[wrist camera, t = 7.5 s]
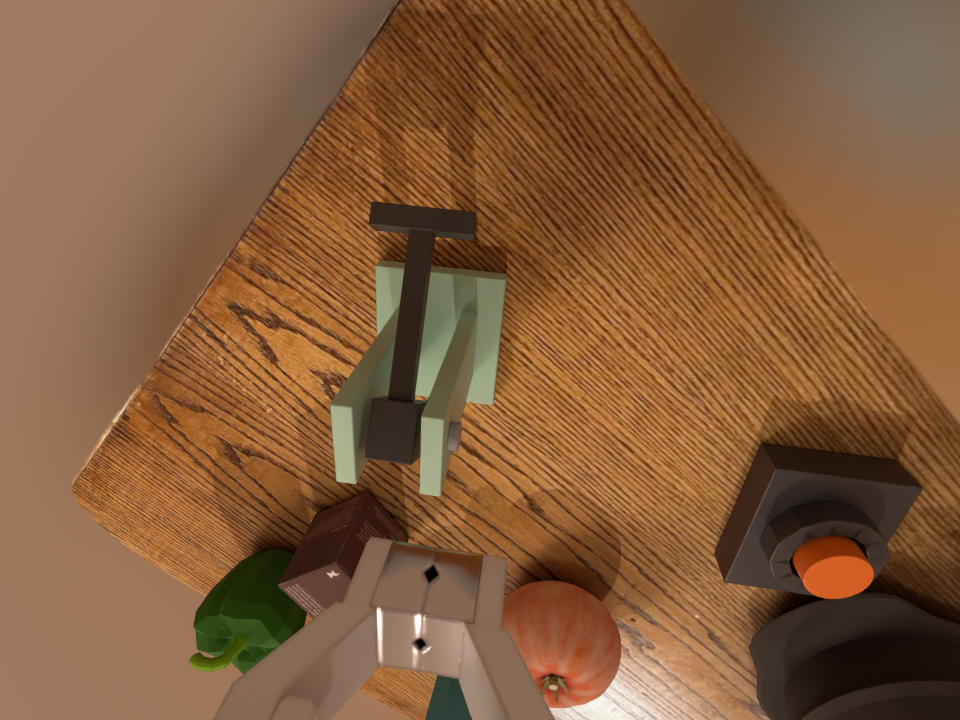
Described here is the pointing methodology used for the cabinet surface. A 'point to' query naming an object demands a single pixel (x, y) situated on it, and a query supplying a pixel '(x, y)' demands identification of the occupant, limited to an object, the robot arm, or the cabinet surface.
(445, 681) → the cup
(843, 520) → the button housing
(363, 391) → the lever stand
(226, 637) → the bell pepper
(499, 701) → the robot arm
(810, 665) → the casserole
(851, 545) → the button
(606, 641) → the tomato
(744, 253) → the cabinet surface
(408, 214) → the lever
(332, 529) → the box
